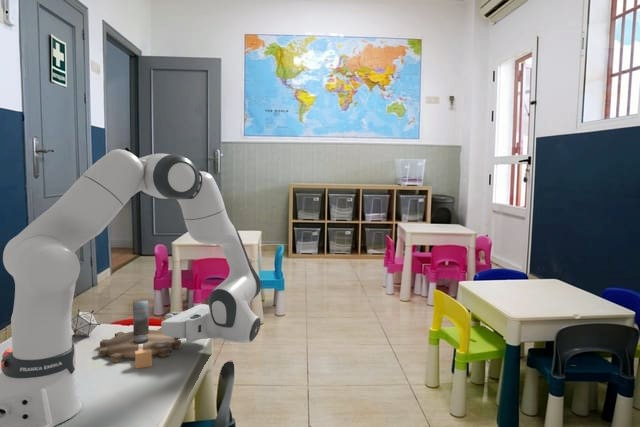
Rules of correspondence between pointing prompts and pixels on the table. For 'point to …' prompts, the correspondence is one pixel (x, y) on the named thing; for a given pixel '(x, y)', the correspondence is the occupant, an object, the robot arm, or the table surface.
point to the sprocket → (138, 338)
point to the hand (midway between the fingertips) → (168, 315)
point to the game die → (83, 323)
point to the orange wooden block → (143, 358)
